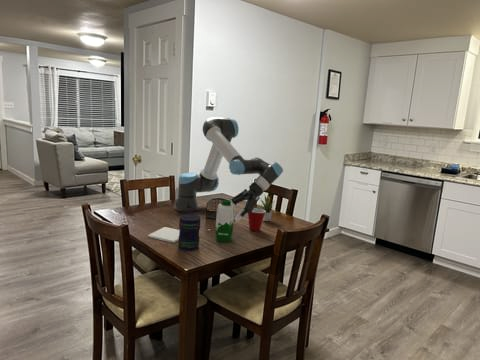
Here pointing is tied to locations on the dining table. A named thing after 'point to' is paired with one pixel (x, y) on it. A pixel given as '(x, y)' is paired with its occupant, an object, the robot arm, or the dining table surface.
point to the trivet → (166, 234)
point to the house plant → (266, 205)
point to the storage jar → (189, 232)
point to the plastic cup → (256, 219)
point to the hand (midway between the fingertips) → (230, 216)
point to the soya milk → (224, 221)
